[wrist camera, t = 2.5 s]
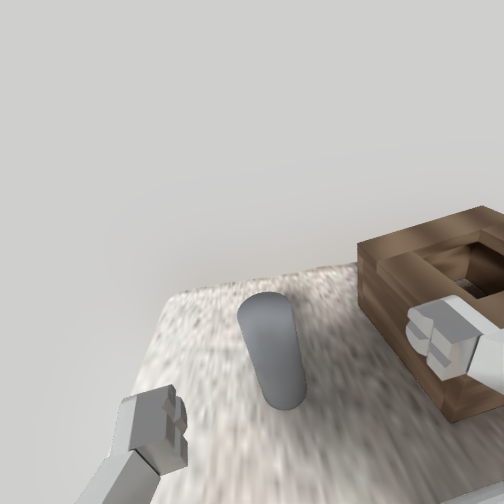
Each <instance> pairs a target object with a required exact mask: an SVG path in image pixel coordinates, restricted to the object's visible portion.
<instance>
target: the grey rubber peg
mask: <svg viewBox="0 0 504 504" xmlns="http://www.w3.org/2000/svg"><path fill="white" fill-rule="evenodd" d="M237 319H238V322H239V325H240V328H241V331H242V334H243V337H244V340H245V343H246V345H247V348H248V351H249V354H250V357H251V360H252V363H253V366H254V369H255V372H256V375H257V378H258V380H259V383H260V386H261V389H262V392H263V395H264V398H265V400H266V401H267V403H268V404H269V405H270V406H272V407H273V408H275V409H278V410H290V409H293V408H295V407H297V406H298V405H299V404H300V403H301V402H302V401H303V400H304V398H305V395H306V391H307V386H306V381H305V376H304V370H303V365H302V360H301V354H300V349H299V344H298V338H297V333H296V328H295V323H294V317H293V312H292V307H291V303H290V301H289V300H288V299H287V298H286V297H285V296H283V295H281V294H279V293H275V292H262V293H258V294H255V295H253V296H251V297H249V298H248V299H246V300H245V301H244V302H243V303H242V304H241V306H240V307H239V309H238V313H237Z"/></svg>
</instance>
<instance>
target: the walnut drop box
mask: <svg viewBox="0 0 504 504" xmlns="http://www.w3.org/2000/svg"><path fill="white" fill-rule="evenodd" d="M357 247H358V248H357V250H358V252H357V253H358V305H359V306H360V308H361V309H362V310H363V312H364V313H365V314H366V315H367V317H368V318H369V319H370V321H371V322H372V323H373V324H374V326H375V327H376V328H377V330H378V331H379V332H380V333H381V335H382V336H383V337H384V339H385V340H386V341H387V342H388V344H389V345H390V346H391V348H392V349H393V350H394V351H395V353H396V354H397V355H398V357H399V358H400V359H401V360H402V362H403V363H404V364H405V366H406V367H407V368H408V369H409V371H410V372H411V373H412V375H413V376H414V377H415V378H416V380H417V381H418V382H419V384H420V385H421V386H422V387H423V389H424V390H425V391H426V393H427V394H428V395H429V396H430V398H431V399H432V400H433V402H434V403H435V404H436V406H437V407H438V408H439V409H440V411H441V412H442V413H443V415H444V416H445V417H446V418H447V420H448V421H449V422H450V424H451V423H454V422H457V421H459V420H462V419H465V418H468V417H471V416H474V415H477V414H479V413H482V412H485V411H488V410H491V409H494V408H497V407H500V406H502V405H504V395H503V394H501V393H499V392H497V391H495V390H494V389H492V388H490V387H488V386H486V385H485V384H483V383H481V382H479V381H477V380H475V379H474V378H472V377H470V376H468V375H467V374H468V373H467V374H463V375H460V376H457V377H453V378H450V379H447V380H443V381H442V380H441V379H440V378H439V377H438V376H437V375H436V374H435V372H434V371H433V370H432V369H431V368H430V367H429V366H428V364H427V360H426V356H424V355H422V354H420V353H418V352H417V351H416V350H415V349H414V348H413V347H412V345H411V344H410V342H409V340H408V337H407V334H406V325H407V324H408V323H409V321H410V318H409V317H408V311H409V310H410V308H413V307H416V306H419V305H422V304H425V303H428V302H431V301H434V300H438V299H441V298H444V297H447V296H450V295H456V296H458V297H460V298H461V299H462V300H464V301H465V302H466V303H467V304H469V305H470V306H471V307H472V308H474V309H475V310H476V311H478V312H479V313H480V314H481V315H483V316H484V317H485V318H487V319H488V320H489V321H490V322H492V323H493V324H494V325H496V326H497V327H498V328H499V329H503V328H504V214H501V213H499V212H497V211H494V210H492V209H490V208H487V207H485V206H479V207H475V208H472V209H469V210H466V211H462V212H459V213H456V214H452V215H449V216H446V217H442V218H439V219H436V220H433V221H429V222H426V223H423V224H419V225H416V226H413V227H409V228H406V229H403V230H400V231H396V232H393V233H390V234H386V235H383V236H380V237H376V238H373V239H370V240H366V241H363V242H360V243H357ZM464 278H466V279H467V280H469V281H470V282H472V283H473V284H474V285H476V286H477V287H479V288H480V289H481V290H483V291H484V292H486V293H487V294H489V295H490V296H487V297H483V298H480V299H476V298H475V297H473V296H472V295H471V294H469V293H468V292H467V291H465V290H464V289H463V288H461V287H460V286H459V285H457V284H456V283H455V282H454V281H457V280H461V279H464Z"/></svg>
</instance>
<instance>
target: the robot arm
mask: <svg viewBox="0 0 504 504" xmlns="http://www.w3.org/2000/svg"><path fill="white" fill-rule="evenodd" d="M408 317H409V318H410V321H409V323H408V324H407V325H406V334H407V337H408V340H409V342H410V344H411V345H412V347H413V348H414V349H415V350H416V351H417V352H418V353H420V354H422V355H424V356H426V360H427V364H428V366H429V367H430V368H431V369H432V370H433V371H434V372H435V374H436V375H437V376H438V377H439V378H440V379H441V380H442V381H443V380H447V379H450V378H453V377H457V376H460V375H463V374H467V373H468V374H467V375H468V376H470V377H472V378H474V379H475V380H477V381H479V382H481V383H483V384H485V385H486V386H488V387H490V388H492V389H494V390H495V391H497V392H499V393H501V394H503V395H504V328H503V329H499V328H498V327H497V326H496V325H494V324H493V323H492V322H490V321H489V320H488V319H487V318H485V317H484V316H483V315H481V314H480V313H479V312H478V311H476V310H475V309H474V308H472V307H471V306H470V305H469V304H467V303H466V302H465V301H464V300H462V299H461V298H460V297H458V296H456V295H450V296H447V297H444V298H441V299H438V300H434V301H431V302H428V303H425V304H422V305H419V306H416V307H413V308H410V310H409V311H408ZM186 429H187V414H186V408H185V405H184V403H183V401H182V399H181V398H180V397H177V396H176V389H175V388H174V386H173V385H172V384H171V385H168V386H164V387H161V388H157V389H154V390H151V391H147V392H144V393H140V394H137V395H134V396H130V397H127V398H124V399H123V400H122V402H121V404H120V407H119V412H118V418H117V423H116V428H115V433H114V438H113V443H112V448H111V453H110V457H109V458H106V459H104V461H103V462H102V464H101V465H100V467H99V468H98V470H97V472H96V473H95V474H94V476H93V477H92V479H91V480H90V482H89V483H88V485H87V486H86V488H85V489H84V491H83V492H82V494H81V495H80V497H79V498H78V500H77V501H76V503H75V504H150V502H151V500H152V497H153V495H154V493H155V490H156V488H157V486H158V484H159V481H160V479H161V477H160V476H162V475H165V474H168V473H171V472H173V471H176V470H179V469H181V468H184V467H187V466H188V442H187V441H186V439H185V438H184V436H183V435H184V433H185V431H186ZM439 504H504V480H503V481H500V482H497V483H494V484H492V485H489V486H486V487H483V488H481V489H478V490H475V491H472V492H470V493H467V494H464V495H461V496H459V497H456V498H453V499H450V500H448V501H445V502H442V503H439Z"/></svg>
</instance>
